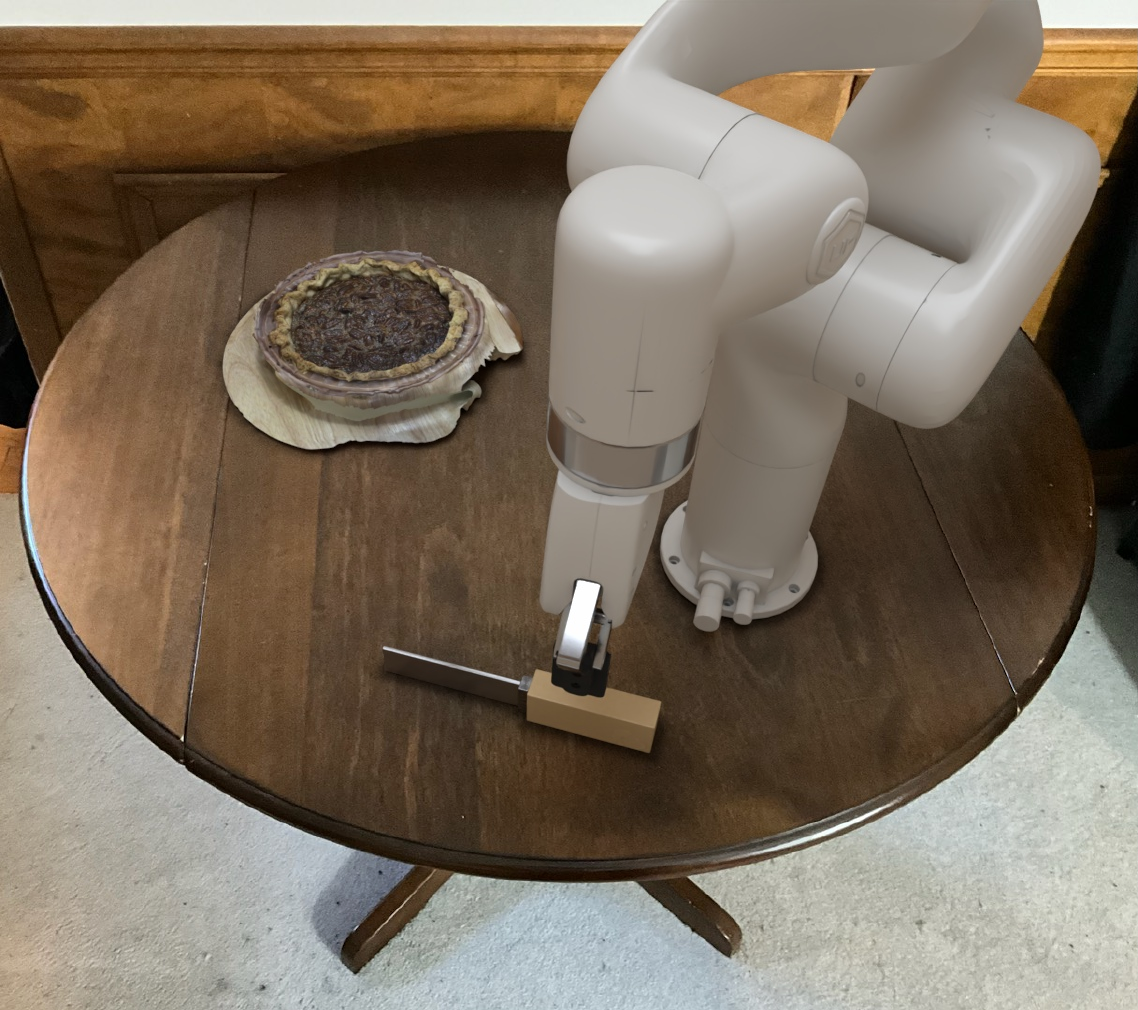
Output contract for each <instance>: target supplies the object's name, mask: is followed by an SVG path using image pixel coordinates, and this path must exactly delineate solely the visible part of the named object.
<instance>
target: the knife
mask: <svg viewBox="0 0 1138 1010" xmlns="http://www.w3.org/2000/svg"><path fill="white" fill-rule="evenodd" d="M382 655H383V659H384V665H385V671H386V672H388V673H391V674H392V673H393V674H396V675H399V676H403V677H407V678H411V679H415V680H418V681H422V682H426V683H428V684H429V683H430V684H433V685H438V686H440V687H444V688H448V689H453V690H456V691H460V692H464V693H468V694H471V695H475V696H478V697H482V698H486V699H490V700H493V701H497V702H501V703H505V704H509V705H513V706H516V707H517V712H518V713H522V714H525V715H526V721H527V722H531V723H536V724H538V725H543V726H546V727H550V728H552V729H553V728H554V729H558V730H561V731H565V732H568V733H571V734H572V733H573V734H576V735H580V736H583V737H587V738H591V739H595V740H599V741H602V742H605V743H609V744H613V745H617V746H621V747H624V748H627V749H628V748H629V749H631V750H636V751H640V752H643V753H647V754H650V753H651V751H652V746H653V742H654V738H655V734H656V730H657V725H658V723H659V722H658V721H659V716H660V713H661V707H662V701H660V700H658V699H654V698H649V697H646V696H642V695H638V694H634V693H630V692H627V691H622V690H619V689H615V688H611V687H607V688H606V692H605V695H604V697H602V698H598V697H594V696H590V695H587V696H578V695H574V694H570V693H568V692H566V691H565V690H564V689H563V688H560V687H557V686H554V685H553V684H552V683H551V674H552V672H549V671H545V670H541V669H538V668H536V669H535V671H534V673H533V676H530V675H526V674H523V675H522V676H521V679H520V680H516V679H513V678H509V677H507V676H502V675H498V674H494V673H490V672H486V671H482V670H480V669H479V670H478V669H474V668H471V667H467V666H463V665H461V664H456V663H452V662H448V661H444V660H440V659H437V658H433V657H428V656H425V655H422V654H417V653H413V652H411V651H407V650H402V649H398V648H395V647H391V646H386V645H383V647H382Z"/></svg>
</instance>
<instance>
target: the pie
mask: <svg viewBox="0 0 1138 1010" xmlns="http://www.w3.org/2000/svg"><path fill="white" fill-rule="evenodd" d="M273 286H274V287H273ZM273 286H272V287H271V288H272V289H273V288H274V289H273V290H272V291H271V292H269V293H268V294H267V295H265V296H264V297H262V298H261V299H260V300H259V301H257V302H256V303H255V304H254V305H253V306H252V307H251V308H249V310H248V311H247V312H246V314H245V315H244V316H243V317H242V318H241V319H240V320H239V322H238V323H237V325H236V326H235V328H234V329H233V331H232V332H231V334H230V336H229V338H228V340H227V343H226V345H225V348H224V352H223V359H222V376H223V382H224V385H225V389H226V391H227V393H228V395H229V397H230V400H231V402H232V403H233V405H234V406H235V407H237V408H238V410H239V412H240V413H242V414H243V418H245V419H246V420H247V421H248V422H250V424H252V426H254V427H255V428H257V429H259V430H260V431H261V432H263V433H265V434H266V435H268V436H270V437H271V438H273V439H275V440H277V441H280V442H283V443H285V444H288V445H291V446H294V447H297V448H301V449H305V450H320V449H321V450H322V449H330V448H332V449H333V448H334V447H336V446H337V445H339V444H345V443H347V442H350V441H352V442H353V441H357V442H361V443H362V442H366V441H370V442H379V443H380V442H387V443H390V442H402V443H414V444H419V443H424V444H425V443H429V442H430V443H431V442H434V441H436V440H438V439H441V438H445V437H446V436H448V435H449V434H451V433H452V432H453V431H454V429H455V428H456V425H457V424H458V422H457V421H458V420H459V418H460V416H461V409H464V410H465V411H466V412H467V411H468V410H469V408H470V406H472V404H473V402H474V401H475V399H480V398H481V396H482V388H481V386H480V385H479V384H478V382H476V381H475V380H472V379H471V378H472V377H473V375H475V373H477V372H479V368H480V367H481V365H482V366H483V367H486V363H485V359H486V360H487V361H488V362H491V361H497V360H498V359H499V358H501V359H502V360H503V361H506V360H508V359H509V358H510V357H511V356H514V355H518V354H520V353H521V351H522V350H523V349H524V339H523V333H522V328H521V325H520V322H519V321H518V319H517V317H516V315H515V313H514V312H513V311H512V310H511V308H510V307H509V306H508V305H507V304H506V302H504V301H503V300H502V299H501V298H500V297H499V296H498V295H496V294H495V293H493V292H492V291H491V290H490V289H489V288H488V287H487V286H485V285H484V284H483V283H482V282H480V281H478V280H477V279H476V278H473V277H472V276H470V275H468V274H466V273H465V272H462V271H459V270H455V269H453V268H452V267H450V266H449V265H447V266H443V265H440V264H438V260H437V259H436V260H435V259H433V257H431V256H429V255H423V252H422V251H420V252H415V251H413V252H412V251H408V250H402V251H401V250H398V249H393V250H388V251H383V250H378V251H377V250H375V251H370V252H366V251H363V250H357V251H353V252H346V253H336V254H333V255H330V256H327V257H326V258H319V262H318V263H317V262H316V261H313V262H310V261H307V263H306V265H304V267H301V268H297V269H296V270H293V271H292V272H291V273H289V274H287V276H286V277H285V279H284V278H283V280H279V281H278V283H277V284H276V283H274V284H273Z"/></svg>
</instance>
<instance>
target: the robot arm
mask: <svg viewBox="0 0 1138 1010" xmlns="http://www.w3.org/2000/svg"><path fill="white" fill-rule="evenodd" d="M1042 21H1043V20H1042V15H1041V10H1040V5H1039V1H1038V0H665V2H663V4H661V5H660V6H659V8H657V10H656V11H655V12H654V13H653V14H652V15H651V16H650V17H649V19H648V20H647V21H646V22H645V23H644V24H643V26H642V27H641V28H640V29H639V30H638V32H637V33H636V34H635V36H634V37H633V38H632V39H631V40H630V42H629V43H628V44H627V45H626V47H625V48H624V49H623V50H622V52H621V53H620V54H619V55H618V57H617V58H616V59H615V60H614V61H613V63H612V64H611V65H610V66H609V68H608V69H607V70H606V72H605V73H604V74H603V76H602V77H601V78H600V80H599V82H598V83H597V85H596V86H595V88H594V90H593V91H592V92H591V94H590V95H589V97H588V98H587V101H586V102H585V103H584V106H583V108H582V110H581V112H580V114H579V115H578V118H577V120H576V123H575V125H574V128H573V131H572V133H571V137H570V141H569V145H568V149H567V153H566V175H567V180H568V186H569V188H570V190H571V192H570V193H569V194H568V196H567V197H566V199H565V200H564V203H563V204H562V206H561V208H560V211H559V214H558V217H557V220H556V229H555V239H554V255H553V275H552V276H553V278H552V299H551V300H552V301H551V323H550V343H549V344H550V345H549V371H548V372H549V373H548V392H547V410H546V411H547V413H546V432H545V433H546V435H545V436H546V437H545V443H546V450H547V452H548V454H549V457H550V460H551V461H552V462H553V464H554V465H555V467H556V468H557V475H556V479H555V484H554V489H553V492H552V498H551V503H550V510H549V515H548V523H547V528H546V529H547V530H546V537H545V538H546V539H545V543H544V544H545V545H544V554H543V562H542V563H543V564H542V572H541V580H540V589H539V599H538V600H539V601H538V602H539V605H540V607H541V610H543V612H545V613H548V614H551V615H554V616H559V615H560V614H561V617H560V621H559V625H558V629H557V630H558V631H557V635H556V639H555V640H554V643H553V645H552V661H551V662H552V663H551V673H552V674H551V683H552V684H553V685H554V686H557V687H560V688H563V689H564V690H565V691H566V692H568V693H570V694H574V695H578V696H587V695H590V696H594V697H598V698H602V697H604V695H605V692H606V688H608V680H609V673H610V666H611V660H612V659H611V658H612V653H610V652H609V651H608V647H609V646H608V645H609V642H610V639H611V633H612V629H616V628H618V627H620V626H622V625H623V624H624V623H625V621H626V618H627V616H628V613H629V610H630V607H631V604H632V603H633V602H632V601H633V599H634V596H635V593H636V590H637V588H638V585H639V581H640V578H641V576H642V574H643V570H644V567H645V563H646V561H647V558H648V555H649V552H650V548H651V546H652V542H653V539H654V536H655V533H656V532H655V531H656V528H657V524H658V521H659V517H660V512H661V510H662V509H661V508H662V505H663V500H664V496H665V492H666V491H665V490H666V489H668V488H670V487H671V486H673V485H674V484H676V483H678V482H679V481H681V479H682V478H683V477H684V476H685V475H686V474H687V473H688V472H689V470H690V469H691V468H692V465H693V463H694V467H693V470H692V475H691V476H692V477H691V480H690V487H689V492H688V497H687V500H685V501H684V502H683V503H680V505H678V506H677V507H676V508H675V509H674V511H673V512H671V514H670V515H669V516H668V518H667V520H666V522H665V523H664V525H663V529H662V533H661V536H660V542H659V543H660V544H659V551H660V552H659V554H660V562H661V566H662V568H663V571H664V573H665V574H666V576H667V578H668V580H669V581H670V583H671V585H672V586H673V587H674V588H675V589H676V590H677V591H678V592H679V593H680V594H681V595H682V596H683V597H685V599H687V600H688V601H690V602H691V603H692V604H694V605H696V608H695V613H694V617H693V621H692V623H693V625H694V627H696V628H697V629H699V630H701V631H704V632H711V633H712V632H715V631H717V630H718V629H719V628H720V624H721V619H722V617H726V618H731V619H733V621H734V623H736V624H738V625H742V626H743V625H744V626H746V625H750V624H751V623H752V621H753V620H758V619H767V618H770V617H774V616H777V615H781V614H782V613H784V612H786V611H789V610H790V609H792V608H794V607H795V606H796V605H797V604H798V603H800V602H801V601H802V600H803V599H804V598H805V596H806V595H807V594H808V593H809V591H810V589H811V587H812V585H813V583H814V580H815V577H816V575H817V571H818V567H819V566H818V565H819V564H818V562H819V554H818V549H817V545H816V541H815V540H814V538H813V535H812V533H811V532H810V528H811V526H812V523H813V519H814V517H815V514H816V511H817V507H818V505H819V501H820V500H821V496H822V493H823V490H824V487H825V484H826V481H827V478H828V475H829V472H830V469H831V466H832V463H833V460H834V457H835V455H836V451H837V448H838V445H839V443H840V441H841V437H842V435H843V431H844V428H845V425H846V421H847V415H848V407H849V405H848V404H849V402H848V400H849V399H850V400H852V401H855V402H856V403H858V404H861V405H862V406H865V407H866V408H869V409H871V410H872V411H874V412H876V413H879V414H881V415H883V416H885V417H887V418H889V419H891V420H894V421H895V422H898V423H900V424H903V425H905V426H909V427H912V428H915V429H916V428H917V429H922V430H923V429H924V430H930V429H931V430H932V429H937V428H940V427H943V426H945V425H947V424H949V423H950V422H952V421H954V420H955V419H956V418H957V417H958V416H959V415H960V414H962V412H964V410H965V409H966V408H967V407H968V406H969V405H970V403H971V402H972V401H973V399H974V398H975V397H976V396H977V394H978V393H979V391H981V389H982V388H983V386H984V385H985V382H986V381H987V379H988V378H989V377H990V375H991V373H992V372H993V370H994V369H995V367H996V365H997V364H998V362H999V361H1000V359H1001V358H1002V356H1003V355H1004V353H1005V351H1006V350H1007V348H1008V347H1009V345H1010V344H1011V342H1012V340H1013V338H1014V337H1015V335H1016V334H1017V332H1018V331H1019V329H1020V328H1021V326H1022V324H1023V323H1024V322H1025V319H1026V318H1027V316H1028V315H1029V313H1030V311H1031V310H1032V308H1033V307H1034V305H1035V304H1036V303H1037V300H1038V299H1039V297H1040V296H1041V294H1042V292H1043V291H1044V290H1045V288H1046V286H1047V285H1048V283H1049V282H1050V280H1051V278H1052V277H1053V275H1054V273H1055V272H1056V270H1057V269H1058V268H1059V266H1060V264H1061V262H1062V261H1063V259H1064V258H1065V256H1066V255H1067V253H1068V252H1069V250H1070V248H1071V246H1072V244H1073V242H1075V239H1076V237H1077V235H1078V233H1079V232H1080V230H1081V228H1082V226H1083V225H1084V223H1085V221H1086V219H1087V217H1088V215H1089V212H1090V210H1091V208H1092V205H1093V202H1094V199H1095V198H1096V195H1097V191H1098V189H1099V183H1100V176H1101V173H1102V172H1101V171H1102V160H1101V155H1100V151H1099V149H1098V147H1097V144H1096V142H1095V141H1094V140H1093V138H1092V137H1091V136H1090V135H1089V134H1088V133H1086V131H1085V130H1083V129H1082V128H1080V127H1078V126H1076V125H1075V124H1072V123H1071V122H1069V121H1067V120H1064V119H1063V118H1060V117H1057V116H1055V115H1052V114H1050V113H1047V112H1044V111H1041V110H1039V109H1036V108H1034V107H1031V106H1028V105H1026V104H1023V103H1020V102H1017V99H1018V98H1019V96H1020V95H1021V93H1022V92H1023V90H1024V88H1025V87H1026V85H1027V83H1028V82H1029V81H1030V79H1031V78H1032V77H1033V76H1034V74H1035V72H1036V70H1037V69H1038V66H1039V64H1040V63H1041V59H1042V57H1043V53H1044V44H1045V41H1044V39H1045V37H1044V28H1043V22H1042ZM871 69H874V70H872V73H871V74H870V76H869V77H868V78H867V80H866V82H865V83H864V84H863V86H862V87H861V88H860V90H859V92H858V93H857V95H856V96H855V97H854V99H853V100H852V102H851V103H850V105H849V106H848V108H847V109H846V111H845V112H844V114H843V115H842V117H841V118H840V120H839V122H838V123H837V126H836V128H835V129H834V131H833V133H832V135H831V136H830V139H829V140H828V142H827V141H826V140H823V139H821V138H819V137H817V136H814V135H812V134H809V133H807V132H805V131H802V130H801V129H800V130H799V129H797V128H796V127H793V126H789V125H788V124H785V123H782V122H779V121H777V120H774V119H772V118H770V117H767V116H765V115H764V114H762V113H759V112H757V111H754V110H751V109H750V108H747V107H744V106H743V105H739V104H737V103H734V102H733V101H730V100H727V99H725V98H722V97H719V95H721V94H722V93H725V92H726V91H728V90H730V89H732V88H735V87H737V86H739V85H742V84H744V83H747V82H750V81H754V80H757V79H761V78H764V77H769V76H775V75H780V74H788V73H796V72H797V73H798V72H799V73H800V72H820V71H821V72H822V71H824V72H825V71H854V70H855V71H856V70H871ZM600 597H601V602H600V607H598V604H599V600H600ZM593 623H594V624H596V625H600V629H599V633H598V638H597V642H596V643H593V642H590V641H589V639H590V635H591V632H592V627H593Z"/></svg>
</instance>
